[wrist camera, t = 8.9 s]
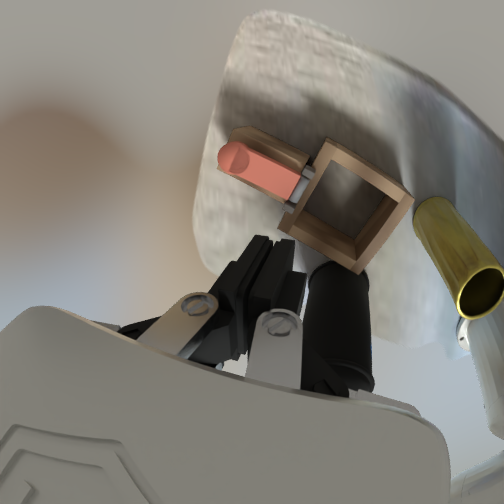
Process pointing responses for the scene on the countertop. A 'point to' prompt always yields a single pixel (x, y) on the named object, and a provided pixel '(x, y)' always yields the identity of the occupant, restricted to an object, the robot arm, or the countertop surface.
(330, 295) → the aerosol can
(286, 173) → the keeper bar
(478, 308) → the vase
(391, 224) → the block
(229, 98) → the countertop surface
